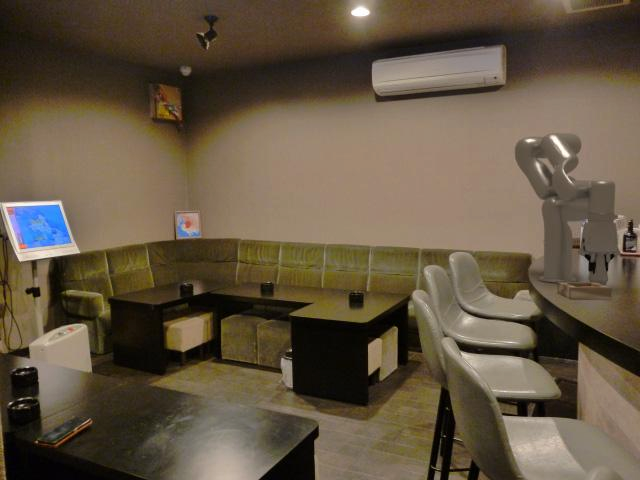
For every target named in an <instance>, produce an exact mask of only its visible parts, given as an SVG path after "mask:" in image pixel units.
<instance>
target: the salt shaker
mask: <svg viewBox="0 0 640 480" xmlns="http://www.w3.org/2000/svg"><path fill="white" fill-rule="evenodd" d="M605 254H606V253H605V252H604V251H600V252H598V253H595V262H596V268H595V273H594V274H593V271H590V273H588V279H587V280H588V282H596V283H599V284H601V285H604V286H607V284H608V281H609V274H608V272H607V273H606V267H605V262H606V261H605Z"/></svg>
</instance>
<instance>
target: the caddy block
mask: <svg viewBox="0 0 640 480" xmlns="http://www.w3.org/2000/svg"><path fill="white" fill-rule="evenodd" d="M612 293H613V290H612V287H610V286H607V285H605V286H604V285H601V284H599V283H596V282H590V281H578V282H577V281H576V282H558V283H557V294H559V295H561V296H564V297H566V298H568V299H570V300H593V301H595V300H602V301H603V300H605V301H606V300H610V301H611V300H612V298H613V297H612V295H613V294H612Z"/></svg>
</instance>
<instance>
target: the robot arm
mask: <svg viewBox="0 0 640 480" xmlns="http://www.w3.org/2000/svg"><path fill="white" fill-rule="evenodd" d="M581 148H582V141H581V139H580V137H579V136H578V135H576V133H570V132H569V133H565V132H564V133H562V132H561V133H559V132H555V133H554V132H552V133H548V134H546V135H544V136H528V137H523V138H521V139H519V140H518V141H517V142H516V145H515V147H514V158H515V161H516V164H517V166H518V168H519V169H520V170H521V171H522V173H523V175H525V177H526V178H527V180H528V182H529V183H530V185H531V187H532V190H533V191H534V193H535V194H536V196H537V197H538V198H539V199H540V200H542V201H543V202H542V205H541V213H542V214H541V215H542V219H543V220H542V221H543V228H544V230H543V233H544V235H543V237H544V238H543V240H544V241H543V245H544V246H543V275H540V276H539V277H538V279H539V281H541V282H546V283H556V284H558V282H577V277H574V276H573V272H572V271H573V230H572V229H571V226H570V225H569V223H570V222H584V221H586V220H587V222H584V224H583V228H582V233H581V238H580V247H579V250H578V251H577V254H578V255H581V256H583V258H585V260H587V262H588V267H587V268H588V272H589V273H590V271H593V274H594V273H595V268H596V262H595V253H598V252H600V251H604V252H605V253H606V254H605V261H606V262H605V267H606V273H607V274H608V272H609V265H610V264H609V263H610V262H611V261H612V260H613V259H614V258H615V257H618V256H619V255H621V251H620V249H619V247H618V244H619V243H618V240H619V239H618V229H617V223H616V222H615V220H618V219H619V215H618V214H616V213H615V203H616V201H615V200H616V184H615V182H614V181H611V180H577V179H576V178H575V177H572V176H569V175H568V174H569V173H571V172H573V171H574V170H575V169H576V168H577V167H578V165H579V162H580V161H579V157H578V153H580V151H581ZM540 159H546V160H547V161H548V162H549V163H550V165H551V167H552V168H553V172H552V171H551V170H550V168H549V167H548V165H547V164H545V163H544V162H543V161H542V160H540ZM568 222H569V223H568ZM586 252H587V253H586ZM589 273H588V274H589Z"/></svg>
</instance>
